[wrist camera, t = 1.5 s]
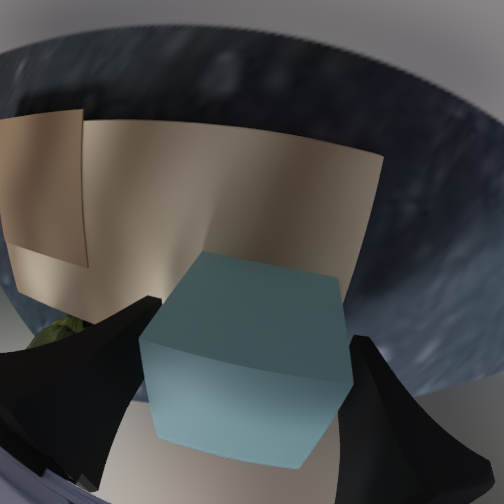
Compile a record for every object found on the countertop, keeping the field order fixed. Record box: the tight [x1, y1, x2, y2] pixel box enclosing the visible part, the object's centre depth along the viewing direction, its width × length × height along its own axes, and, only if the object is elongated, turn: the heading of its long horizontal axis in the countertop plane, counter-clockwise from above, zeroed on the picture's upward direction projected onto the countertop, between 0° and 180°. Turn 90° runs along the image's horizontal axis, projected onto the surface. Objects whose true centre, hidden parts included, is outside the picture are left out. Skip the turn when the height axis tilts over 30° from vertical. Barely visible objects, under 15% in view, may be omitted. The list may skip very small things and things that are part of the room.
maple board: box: [0, 109, 384, 324], centre depth 12 cm, size 18×10×1 cm, turn 82°
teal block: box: [139, 251, 354, 469], centre depth 9 cm, size 5×5×5 cm
